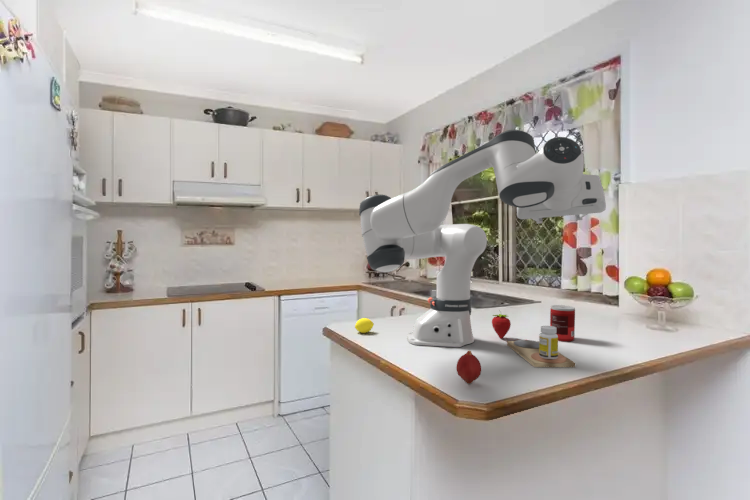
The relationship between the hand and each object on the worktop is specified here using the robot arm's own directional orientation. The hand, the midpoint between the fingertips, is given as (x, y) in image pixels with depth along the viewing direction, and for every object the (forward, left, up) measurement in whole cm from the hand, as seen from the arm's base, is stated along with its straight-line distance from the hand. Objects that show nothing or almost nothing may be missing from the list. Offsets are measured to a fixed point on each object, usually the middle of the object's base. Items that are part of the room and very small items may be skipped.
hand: (558, 219), depth 106 cm
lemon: (-52, +38, -40) cm, 76 cm away
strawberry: (-5, +30, -40) cm, 50 cm away
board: (0, +11, -39) cm, 41 cm away
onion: (-26, -12, -40) cm, 49 cm away
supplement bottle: (0, +4, -38) cm, 38 cm away
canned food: (+16, +30, -40) cm, 53 cm away
